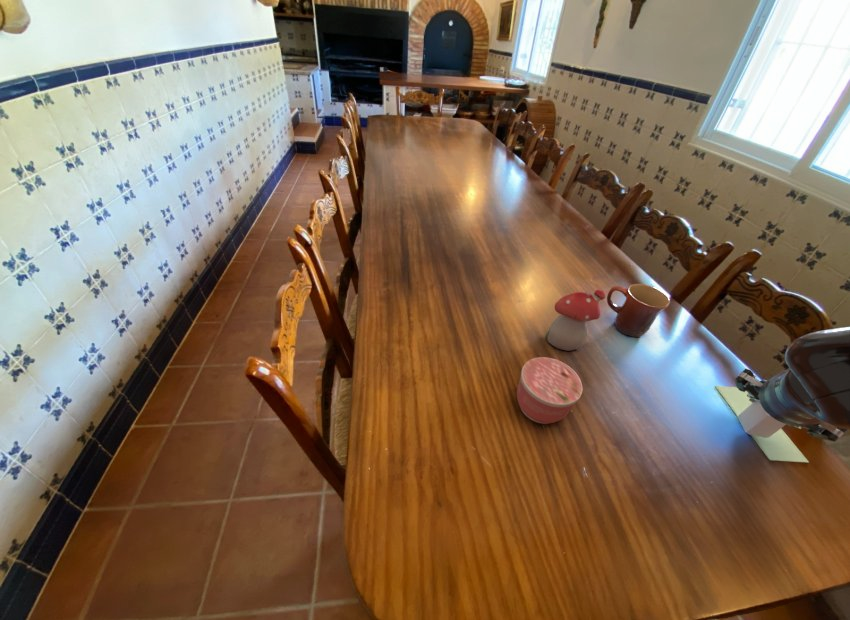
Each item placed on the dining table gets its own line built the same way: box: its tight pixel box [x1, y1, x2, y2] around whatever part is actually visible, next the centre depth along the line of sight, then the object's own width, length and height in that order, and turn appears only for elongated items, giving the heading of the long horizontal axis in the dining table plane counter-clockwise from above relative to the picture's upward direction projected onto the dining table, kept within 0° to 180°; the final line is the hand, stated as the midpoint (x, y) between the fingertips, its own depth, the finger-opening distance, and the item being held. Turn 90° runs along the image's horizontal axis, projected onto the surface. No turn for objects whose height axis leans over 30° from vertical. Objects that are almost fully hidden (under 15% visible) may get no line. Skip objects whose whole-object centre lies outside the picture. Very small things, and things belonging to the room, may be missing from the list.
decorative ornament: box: [545, 289, 607, 352], centre depth 76 cm, size 9×7×15 cm
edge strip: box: [714, 385, 810, 464], centre depth 68 cm, size 16×7×1 cm, turn 179°
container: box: [516, 356, 583, 425], centre depth 65 cm, size 10×10×8 cm
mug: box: [606, 283, 671, 338], centre depth 84 cm, size 12×9×10 cm
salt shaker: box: [737, 401, 787, 438], centre depth 63 cm, size 4×4×10 cm
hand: (772, 408), depth 64 cm, fingers closed on salt shaker, 5 cm apart
